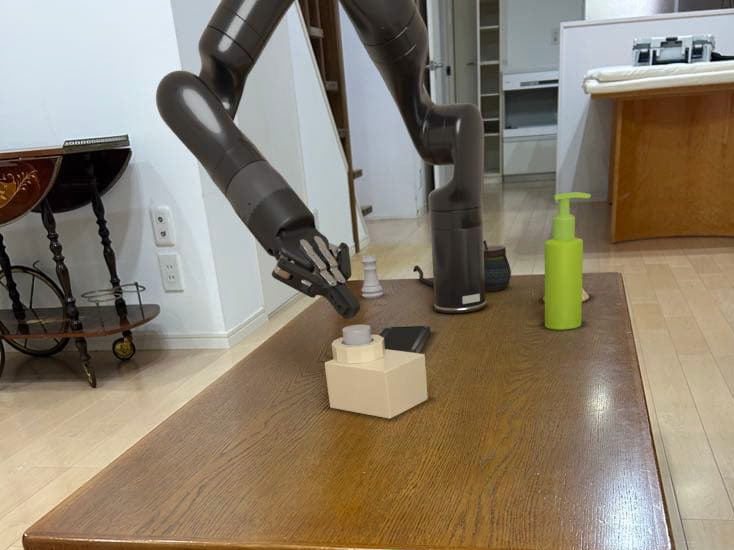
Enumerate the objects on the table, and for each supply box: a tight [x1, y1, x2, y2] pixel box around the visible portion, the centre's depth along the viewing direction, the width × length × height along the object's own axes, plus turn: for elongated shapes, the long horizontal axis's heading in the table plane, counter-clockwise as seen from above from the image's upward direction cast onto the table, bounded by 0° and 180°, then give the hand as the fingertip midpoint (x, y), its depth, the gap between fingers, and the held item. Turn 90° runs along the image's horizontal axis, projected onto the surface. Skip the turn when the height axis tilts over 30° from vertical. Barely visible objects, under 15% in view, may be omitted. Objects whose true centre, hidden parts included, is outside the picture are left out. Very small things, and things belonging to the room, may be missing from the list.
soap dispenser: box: [544, 191, 592, 331], centre depth 130 cm, size 6×7×20 cm
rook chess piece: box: [360, 253, 384, 300], centre depth 165 cm, size 4×4×8 cm
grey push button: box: [341, 324, 372, 346], centre depth 104 cm, size 4×4×2 cm
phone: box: [378, 325, 431, 354], centre depth 131 cm, size 8×1×15 cm
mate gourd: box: [483, 239, 512, 293], centre depth 161 cm, size 7×8×10 cm
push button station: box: [324, 333, 429, 419], centre depth 105 cm, size 11×8×8 cm
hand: (353, 313), depth 103 cm, fingers closed
